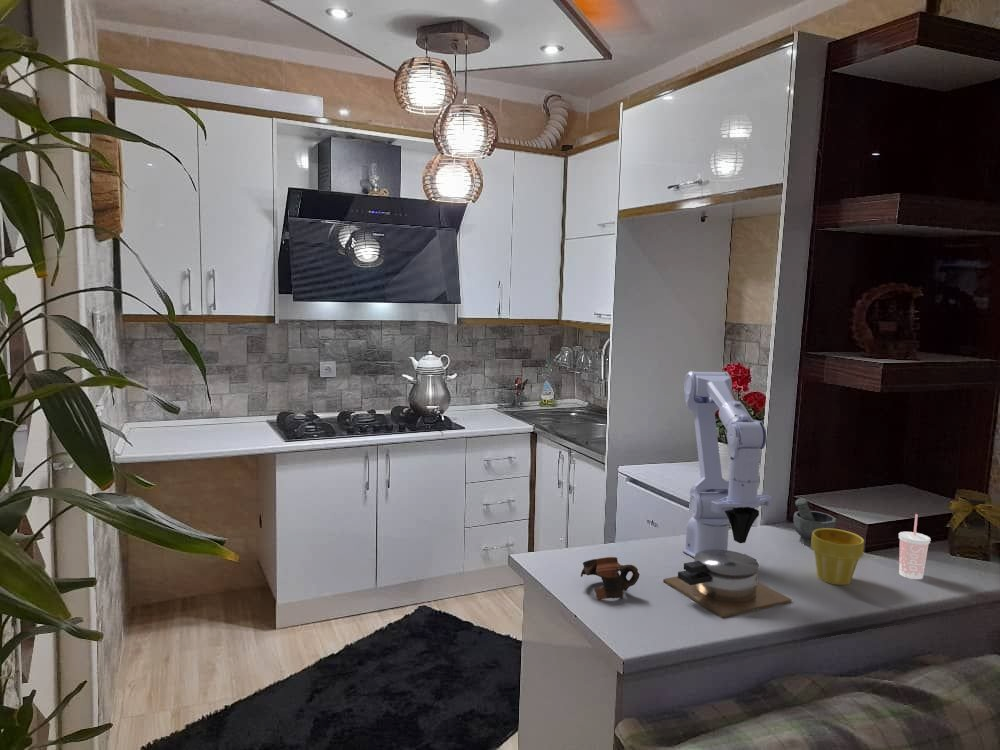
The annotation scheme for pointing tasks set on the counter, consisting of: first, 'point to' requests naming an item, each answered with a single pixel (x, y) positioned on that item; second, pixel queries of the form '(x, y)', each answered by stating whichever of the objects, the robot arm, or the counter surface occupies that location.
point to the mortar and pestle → (810, 521)
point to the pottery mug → (610, 576)
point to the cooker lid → (723, 563)
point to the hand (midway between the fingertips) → (739, 541)
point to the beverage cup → (913, 553)
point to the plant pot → (836, 554)
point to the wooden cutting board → (726, 592)
